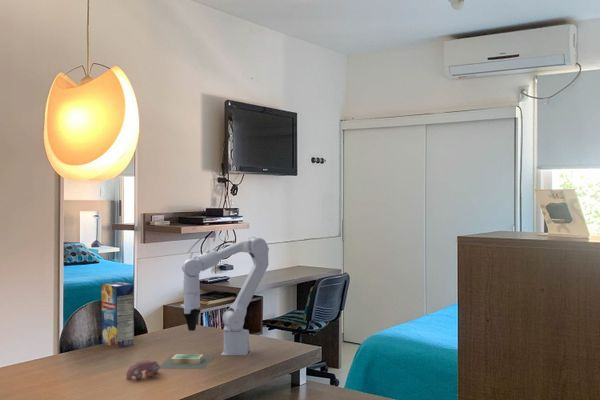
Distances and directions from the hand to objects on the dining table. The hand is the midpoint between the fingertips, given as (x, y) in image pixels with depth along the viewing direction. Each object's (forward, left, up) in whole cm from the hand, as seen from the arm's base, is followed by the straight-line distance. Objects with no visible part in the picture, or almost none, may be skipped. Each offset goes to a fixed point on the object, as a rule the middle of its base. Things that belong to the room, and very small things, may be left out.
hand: (191, 330), depth 208 cm
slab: (0, +4, -8) cm, 9 cm away
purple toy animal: (+10, +24, -10) cm, 28 cm away
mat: (0, +7, -10) cm, 12 cm away
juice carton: (+35, -20, -10) cm, 42 cm away
